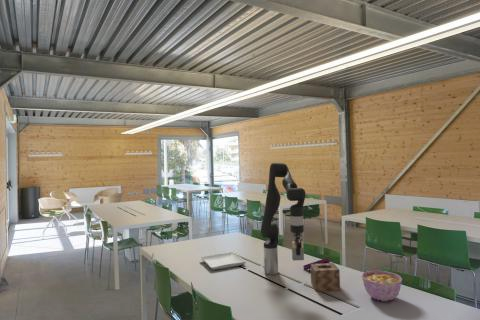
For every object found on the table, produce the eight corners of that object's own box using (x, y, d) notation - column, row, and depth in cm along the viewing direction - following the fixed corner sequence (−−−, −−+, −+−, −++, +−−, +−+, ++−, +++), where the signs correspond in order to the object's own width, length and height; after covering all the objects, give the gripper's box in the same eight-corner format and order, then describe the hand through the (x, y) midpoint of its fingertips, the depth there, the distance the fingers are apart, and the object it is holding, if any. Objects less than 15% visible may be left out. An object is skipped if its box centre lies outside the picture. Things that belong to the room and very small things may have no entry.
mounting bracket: (304, 279, 227) (323, 273, 214) (300, 266, 230) (318, 260, 217) (313, 275, 233) (332, 270, 220) (309, 263, 235) (327, 257, 223)
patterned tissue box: (315, 291, 191) (315, 270, 191) (311, 283, 203) (310, 263, 203) (340, 290, 191) (339, 269, 191) (334, 282, 203) (333, 263, 203)
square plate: (211, 272, 230) (211, 267, 230) (199, 261, 255) (199, 256, 254) (247, 266, 241) (246, 260, 241) (232, 256, 266) (232, 251, 266)
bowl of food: (391, 289, 190) (390, 269, 189) (410, 305, 170) (409, 282, 169) (356, 291, 189) (356, 271, 189) (371, 307, 169) (371, 284, 169)
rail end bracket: (293, 260, 186) (292, 242, 186) (292, 258, 189) (291, 241, 189) (303, 260, 186) (303, 242, 186) (302, 258, 189) (302, 241, 189)
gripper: (288, 221, 194) (289, 250, 195) (292, 226, 180) (293, 258, 181) (301, 220, 195) (302, 250, 195) (306, 226, 180) (307, 257, 181)
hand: (297, 253), depth 188 cm, fingers closed on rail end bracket, 3 cm apart
